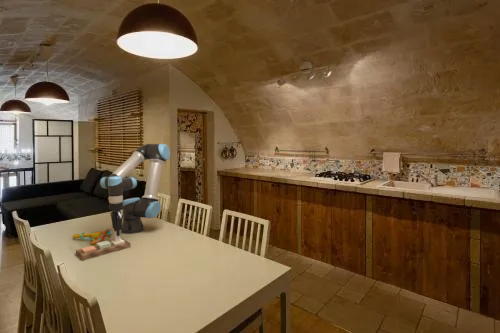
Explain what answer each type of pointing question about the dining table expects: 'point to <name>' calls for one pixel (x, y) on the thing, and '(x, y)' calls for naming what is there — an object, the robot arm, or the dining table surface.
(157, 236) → the dining table surface
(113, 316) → the dining table surface
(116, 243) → the tile cream
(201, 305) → the dining table surface
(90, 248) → the tile terracotta
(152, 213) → the robot arm
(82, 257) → the board
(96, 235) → the toy gun
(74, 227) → the dining table surface
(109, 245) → the tile sage
